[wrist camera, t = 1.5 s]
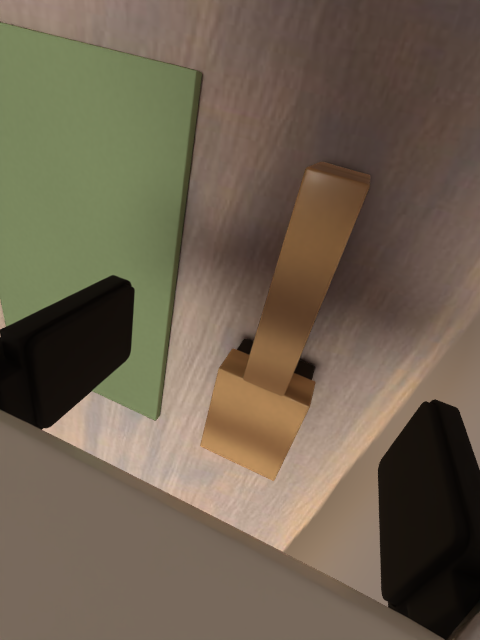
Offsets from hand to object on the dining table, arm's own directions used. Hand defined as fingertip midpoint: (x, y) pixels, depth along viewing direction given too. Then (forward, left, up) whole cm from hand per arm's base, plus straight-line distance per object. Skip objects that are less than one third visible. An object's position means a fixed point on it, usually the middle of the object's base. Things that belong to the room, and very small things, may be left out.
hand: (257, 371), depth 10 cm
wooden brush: (+3, 0, -8) cm, 9 cm away
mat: (+3, -14, -8) cm, 16 cm away
